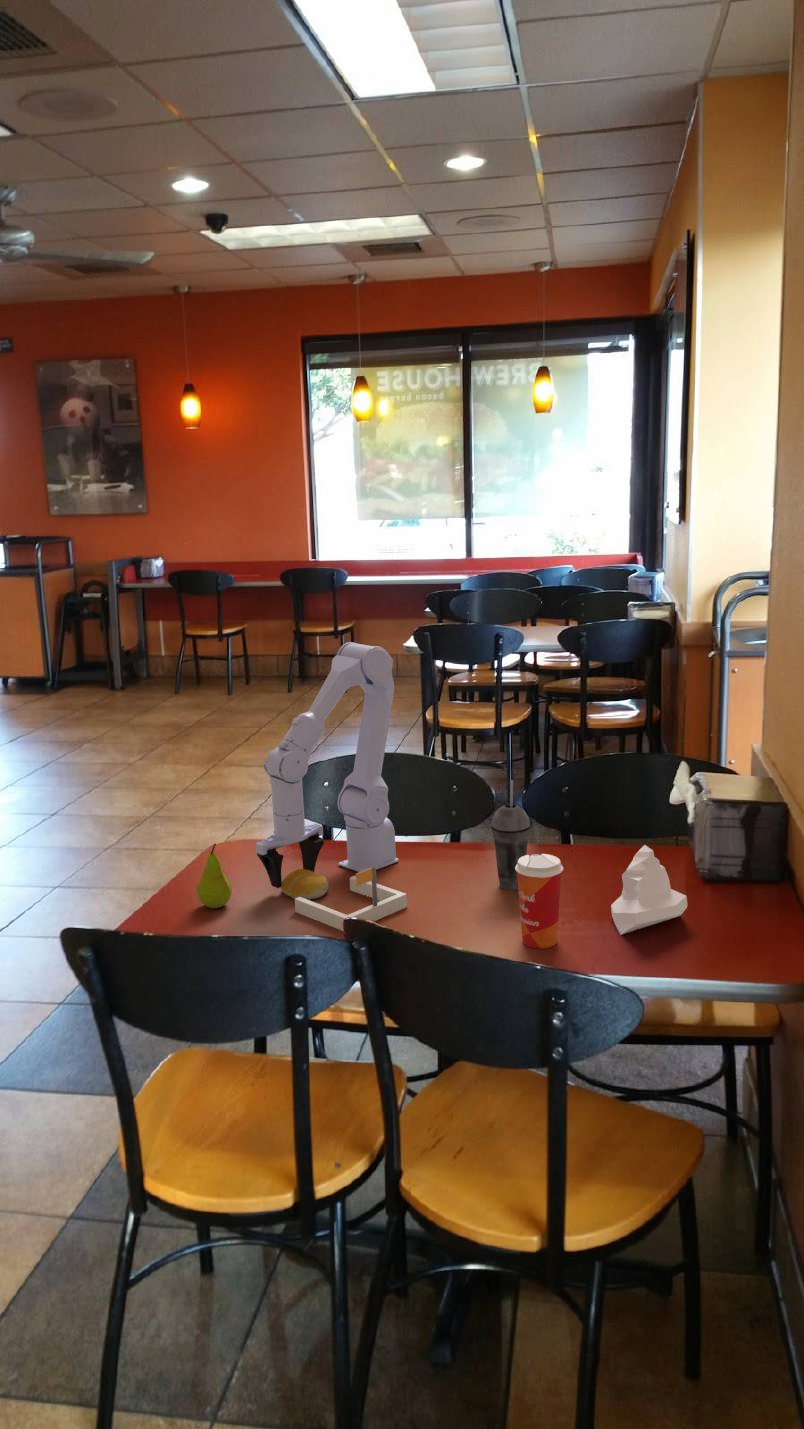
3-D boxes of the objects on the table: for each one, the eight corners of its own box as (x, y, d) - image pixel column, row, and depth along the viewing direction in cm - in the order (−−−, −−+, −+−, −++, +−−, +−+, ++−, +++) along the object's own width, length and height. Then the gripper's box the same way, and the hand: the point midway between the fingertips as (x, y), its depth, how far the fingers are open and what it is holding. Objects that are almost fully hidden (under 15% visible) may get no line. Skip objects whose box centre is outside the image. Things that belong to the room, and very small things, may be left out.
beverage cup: (487, 890, 196) (484, 786, 192) (498, 876, 203) (496, 775, 199) (525, 894, 194) (523, 789, 189) (535, 880, 200) (534, 778, 196)
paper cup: (512, 933, 178) (511, 853, 175) (557, 930, 178) (557, 850, 175) (521, 953, 170) (520, 871, 167) (568, 950, 171) (568, 867, 168)
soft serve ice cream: (588, 932, 180) (580, 848, 181) (654, 919, 188) (646, 839, 188) (638, 940, 170) (629, 850, 170) (706, 925, 177) (698, 840, 178)
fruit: (190, 907, 194) (185, 845, 191) (217, 897, 198) (212, 835, 196) (213, 916, 190) (208, 852, 187) (240, 904, 194) (235, 842, 191)
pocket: (354, 888, 200) (352, 840, 198) (407, 906, 190) (405, 856, 188) (295, 911, 190) (292, 861, 188) (347, 932, 180) (344, 880, 178)
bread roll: (302, 905, 193) (301, 884, 192) (274, 892, 199) (273, 871, 199) (338, 892, 198) (337, 872, 197) (310, 880, 205) (309, 860, 204)
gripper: (304, 798, 206) (308, 864, 209) (243, 816, 196) (249, 886, 199) (328, 805, 201) (332, 873, 204) (267, 824, 191) (272, 895, 194)
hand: (292, 880), depth 201 cm, fingers open, 7 cm apart
